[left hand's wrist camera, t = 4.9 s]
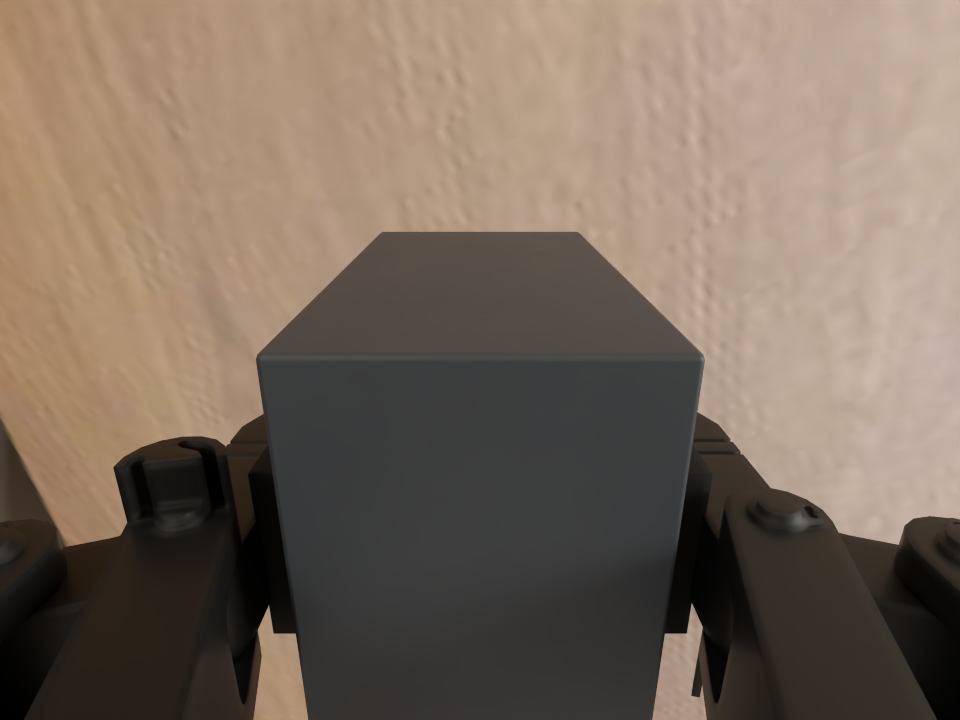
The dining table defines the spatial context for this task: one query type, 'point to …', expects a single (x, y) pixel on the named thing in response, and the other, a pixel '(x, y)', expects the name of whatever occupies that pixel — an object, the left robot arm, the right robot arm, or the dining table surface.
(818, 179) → the dining table surface
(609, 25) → the dining table surface
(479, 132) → the dining table surface
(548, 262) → the bar
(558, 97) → the dining table surface
